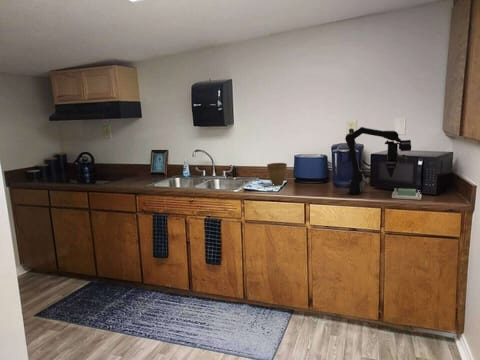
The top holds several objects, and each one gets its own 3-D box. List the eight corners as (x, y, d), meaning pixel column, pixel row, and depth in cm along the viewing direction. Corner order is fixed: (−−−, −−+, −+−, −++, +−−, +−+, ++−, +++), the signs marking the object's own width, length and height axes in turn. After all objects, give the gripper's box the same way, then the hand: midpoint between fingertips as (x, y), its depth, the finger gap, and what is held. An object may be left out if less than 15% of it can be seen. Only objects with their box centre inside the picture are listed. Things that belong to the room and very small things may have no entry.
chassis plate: (391, 197, 217) (392, 192, 216) (393, 193, 227) (393, 187, 227) (421, 199, 210) (421, 193, 209) (421, 194, 220) (421, 189, 220)
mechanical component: (367, 193, 231) (367, 178, 229) (354, 190, 239) (354, 176, 237) (370, 192, 233) (370, 177, 231) (356, 190, 241) (357, 175, 239)
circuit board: (397, 195, 218) (397, 190, 217) (397, 192, 223) (398, 188, 223) (415, 196, 214) (415, 191, 213) (415, 193, 219) (415, 189, 218)
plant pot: (289, 183, 274) (289, 162, 271) (283, 187, 261) (283, 165, 258) (271, 182, 281) (270, 162, 278) (264, 186, 267) (264, 165, 264)
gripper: (406, 153, 208) (405, 179, 211) (407, 149, 224) (406, 173, 228) (385, 153, 213) (385, 178, 216) (388, 149, 229) (387, 173, 232)
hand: (391, 175), depth 223 cm, fingers open, 9 cm apart
